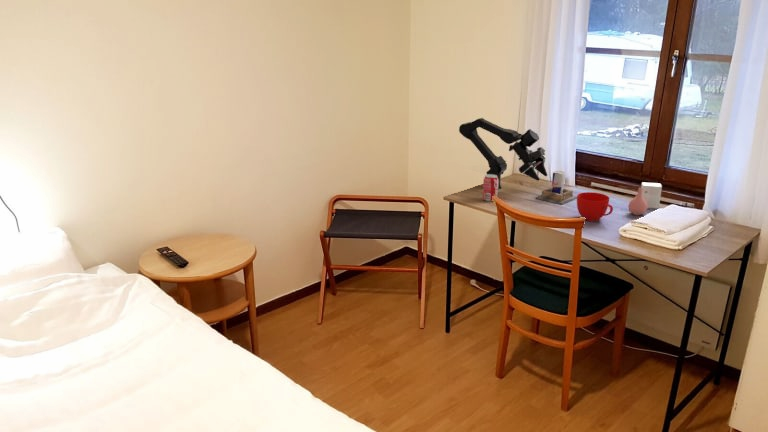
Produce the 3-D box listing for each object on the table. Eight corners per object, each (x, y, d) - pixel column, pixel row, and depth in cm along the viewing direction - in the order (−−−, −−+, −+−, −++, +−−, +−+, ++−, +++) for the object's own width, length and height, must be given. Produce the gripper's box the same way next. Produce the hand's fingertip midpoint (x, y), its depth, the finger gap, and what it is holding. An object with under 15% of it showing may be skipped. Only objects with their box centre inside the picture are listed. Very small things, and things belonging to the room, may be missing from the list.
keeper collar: (536, 198, 269) (536, 190, 267) (551, 192, 278) (552, 184, 276) (562, 204, 259) (563, 197, 258) (577, 198, 268) (578, 190, 267)
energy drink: (548, 195, 269) (550, 171, 265) (557, 194, 271) (559, 170, 268) (556, 198, 265) (558, 174, 261) (564, 197, 267) (567, 172, 263)
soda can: (496, 197, 271) (498, 173, 267) (498, 202, 264) (499, 177, 260) (482, 197, 271) (483, 173, 267) (483, 202, 265) (484, 177, 261)
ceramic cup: (598, 228, 229) (601, 205, 226) (568, 216, 243) (570, 195, 240) (621, 223, 235) (624, 200, 232) (590, 211, 249) (592, 190, 246)
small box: (657, 205, 256) (660, 183, 253) (658, 209, 251) (662, 186, 248) (638, 203, 259) (641, 181, 255) (639, 207, 254) (642, 185, 250)
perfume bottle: (624, 214, 245) (628, 188, 241) (630, 210, 250) (634, 184, 246) (642, 218, 240) (646, 192, 236) (648, 214, 245) (652, 188, 241)
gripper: (526, 146, 260) (547, 172, 258) (543, 139, 274) (562, 164, 271) (510, 160, 268) (530, 186, 265) (527, 152, 281) (546, 177, 279)
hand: (542, 178), depth 270 cm, fingers open, 9 cm apart
